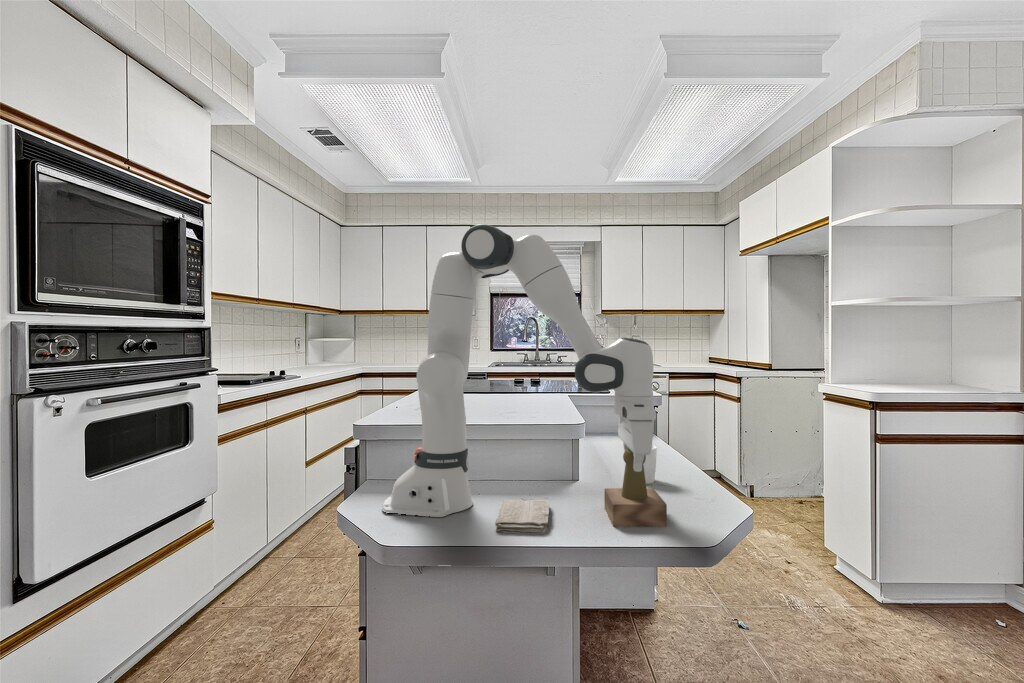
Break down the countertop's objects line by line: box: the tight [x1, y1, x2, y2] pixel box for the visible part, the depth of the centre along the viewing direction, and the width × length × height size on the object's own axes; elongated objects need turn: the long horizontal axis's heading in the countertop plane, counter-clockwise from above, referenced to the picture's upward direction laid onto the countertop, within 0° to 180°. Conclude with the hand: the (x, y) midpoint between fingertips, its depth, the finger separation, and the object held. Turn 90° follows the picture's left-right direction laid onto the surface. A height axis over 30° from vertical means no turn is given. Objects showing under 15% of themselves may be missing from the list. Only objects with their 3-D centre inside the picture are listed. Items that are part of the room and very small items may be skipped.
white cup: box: [643, 444, 658, 485], centre depth 155 cm, size 8×8×10 cm
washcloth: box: [494, 499, 550, 535], centre depth 125 cm, size 12×18×3 cm, turn 175°
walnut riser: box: [604, 487, 668, 528], centre depth 125 cm, size 12×12×5 cm
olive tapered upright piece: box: [621, 449, 648, 500], centre depth 125 cm, size 6×6×11 cm
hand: (632, 465), depth 125 cm, fingers open, 8 cm apart
